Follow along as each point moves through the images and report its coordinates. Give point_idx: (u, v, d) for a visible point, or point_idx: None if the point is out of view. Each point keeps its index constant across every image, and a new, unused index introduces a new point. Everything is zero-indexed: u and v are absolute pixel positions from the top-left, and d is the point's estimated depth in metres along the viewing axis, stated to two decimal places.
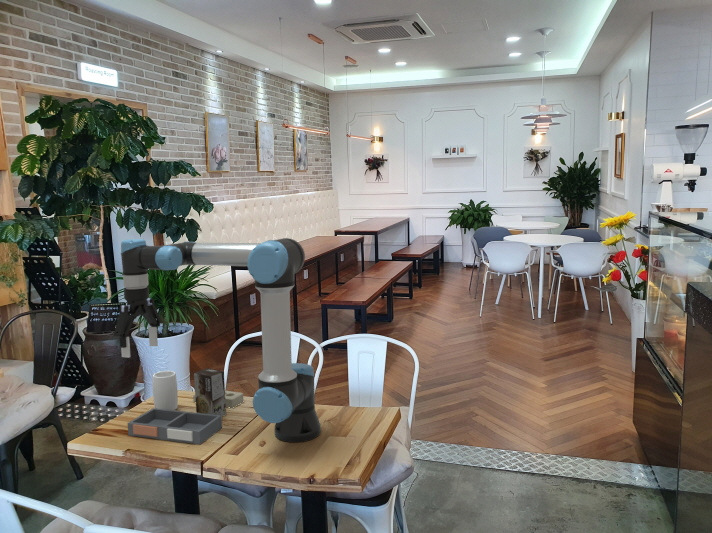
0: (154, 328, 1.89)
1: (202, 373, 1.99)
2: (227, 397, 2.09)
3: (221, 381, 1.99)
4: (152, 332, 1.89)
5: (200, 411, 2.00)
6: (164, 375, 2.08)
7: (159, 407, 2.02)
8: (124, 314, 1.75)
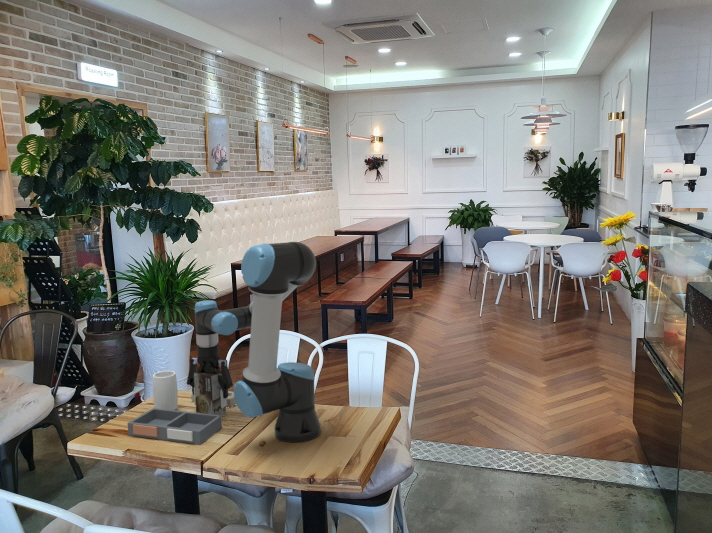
0: None
1: (202, 373, 1.98)
2: None
3: None
4: None
5: (200, 411, 2.00)
6: (164, 375, 2.08)
7: (159, 407, 2.02)
8: None
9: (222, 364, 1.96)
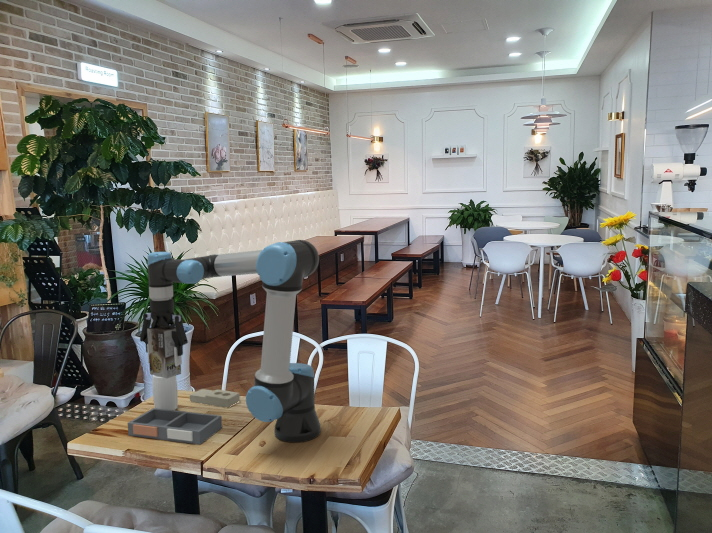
0: None
1: (155, 328, 1.87)
2: (223, 397, 2.10)
3: None
4: None
5: (153, 369, 1.88)
6: None
7: (159, 407, 2.02)
8: None
9: (176, 319, 1.85)
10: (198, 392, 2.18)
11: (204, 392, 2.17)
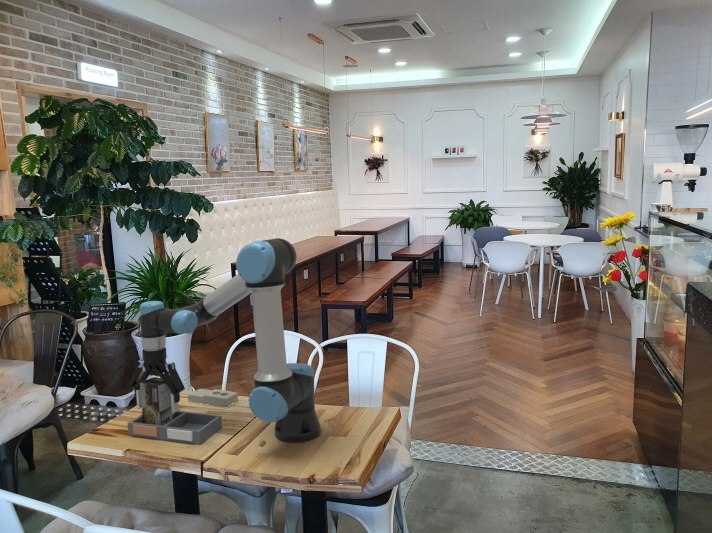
0: None
1: (149, 382, 1.87)
2: (221, 396, 2.10)
3: (169, 391, 1.87)
4: None
5: (147, 423, 1.88)
6: None
7: None
8: None
9: (169, 367, 1.84)
10: (196, 392, 2.18)
11: (202, 392, 2.17)
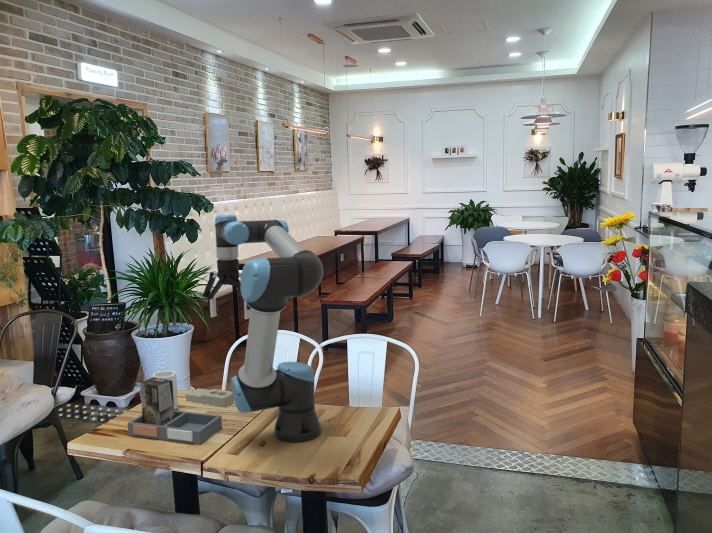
0: None
1: (149, 383, 1.87)
2: (219, 396, 2.10)
3: (169, 391, 1.87)
4: None
5: (147, 423, 1.88)
6: (164, 375, 2.08)
7: None
8: None
9: None
10: (194, 391, 2.18)
11: (200, 392, 2.18)
